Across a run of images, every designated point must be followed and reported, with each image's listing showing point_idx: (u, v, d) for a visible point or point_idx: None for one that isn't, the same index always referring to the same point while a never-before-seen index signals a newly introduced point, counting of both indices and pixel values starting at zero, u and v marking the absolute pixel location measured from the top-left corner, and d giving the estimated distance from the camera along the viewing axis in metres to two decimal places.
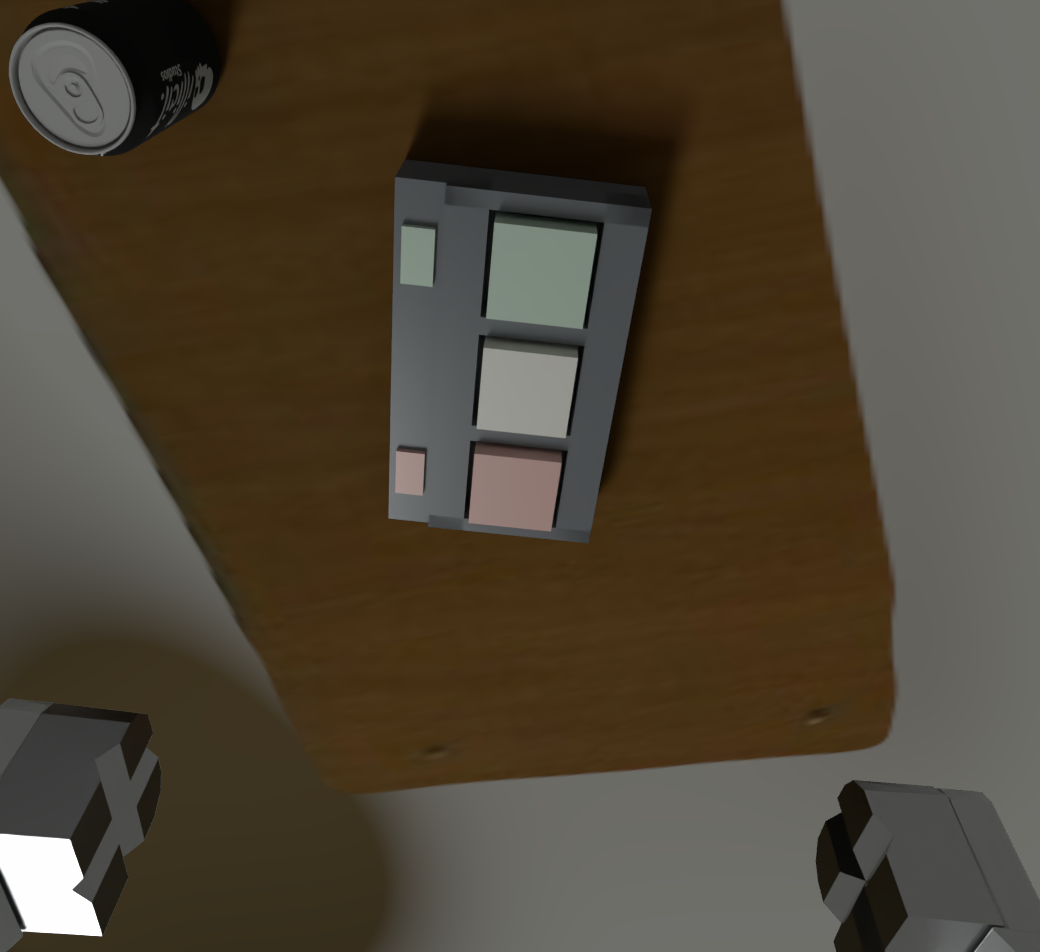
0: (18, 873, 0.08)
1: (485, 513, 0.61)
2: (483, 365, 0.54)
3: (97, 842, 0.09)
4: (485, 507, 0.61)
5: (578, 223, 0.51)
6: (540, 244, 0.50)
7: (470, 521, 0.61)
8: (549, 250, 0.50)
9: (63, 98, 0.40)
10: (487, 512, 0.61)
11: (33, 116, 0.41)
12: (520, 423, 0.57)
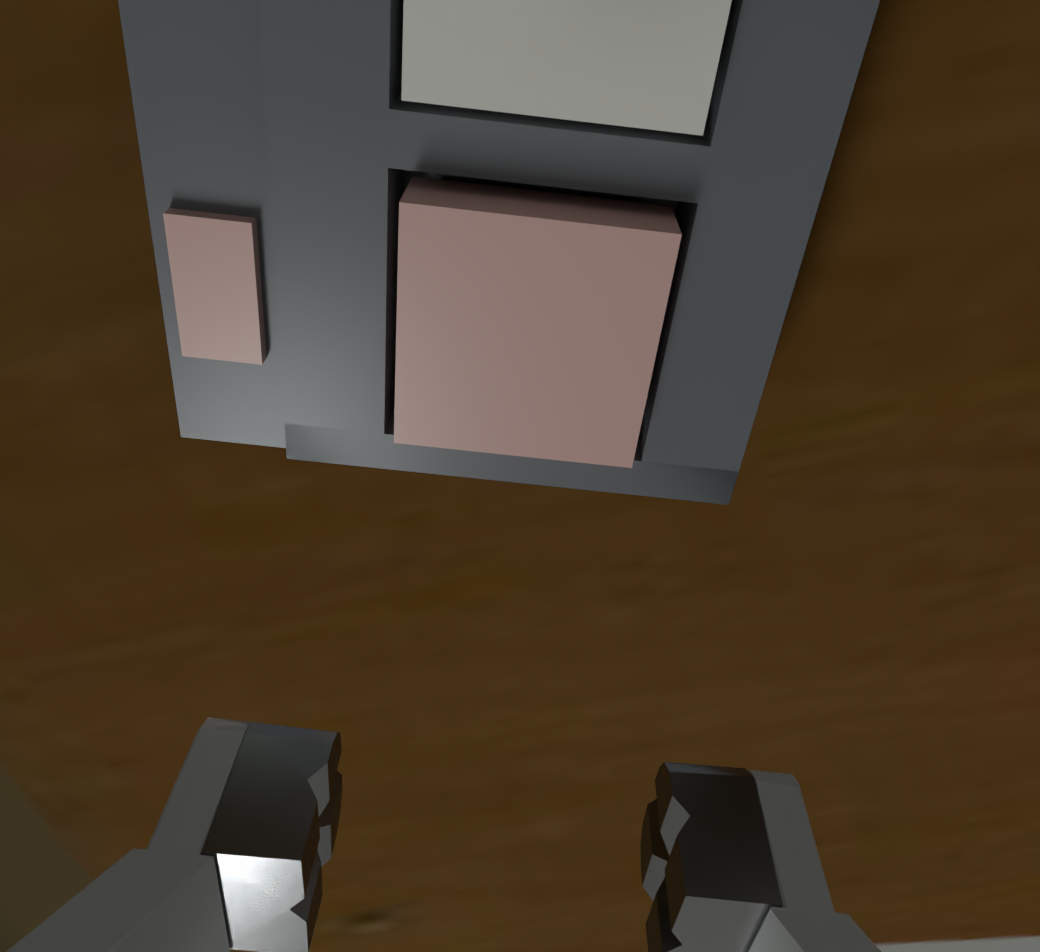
0: (241, 893, 0.08)
1: (441, 412, 0.21)
2: None
3: (312, 862, 0.09)
4: (441, 394, 0.20)
5: None
6: None
7: (399, 438, 0.21)
8: None
9: None
10: (447, 409, 0.21)
11: None
12: (551, 74, 0.16)
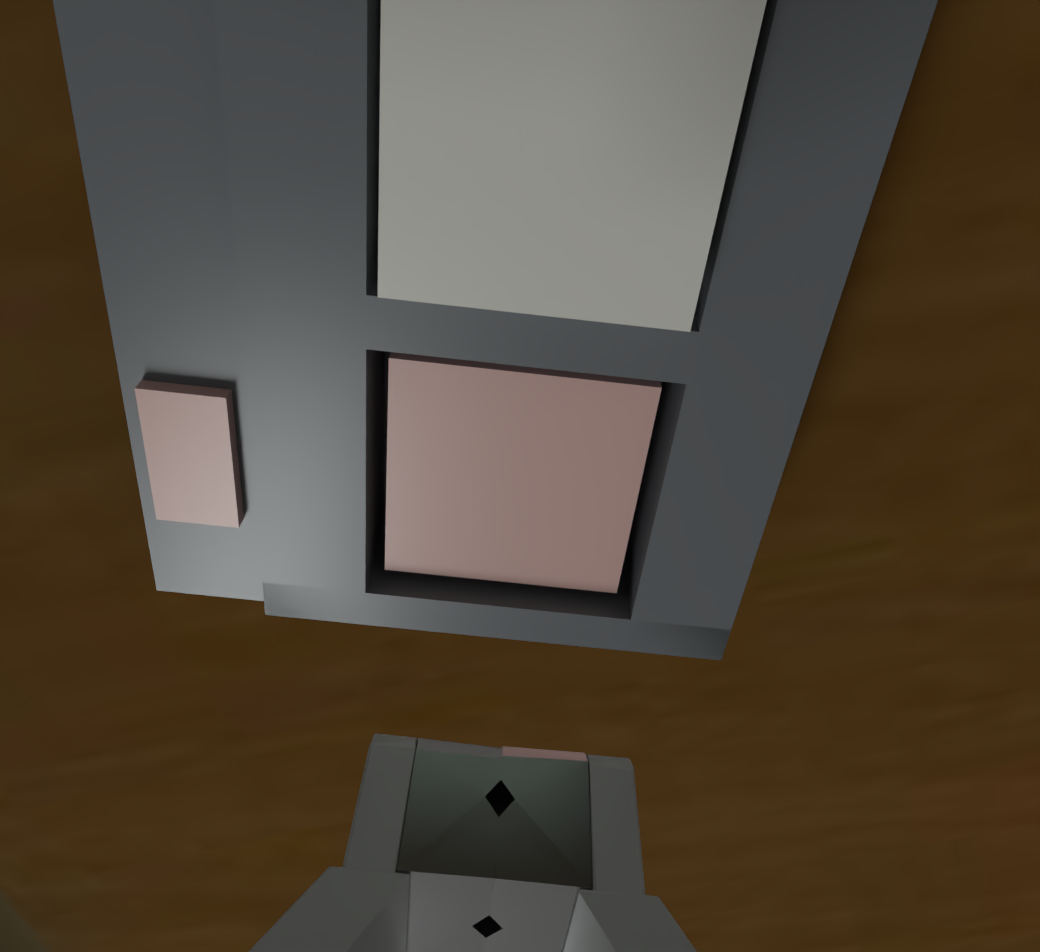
0: (427, 910, 0.08)
1: (431, 543, 0.21)
2: (386, 14, 0.14)
3: None
4: (430, 526, 0.21)
5: None
6: None
7: (390, 565, 0.22)
8: None
9: None
10: (437, 540, 0.21)
11: None
12: (532, 275, 0.16)
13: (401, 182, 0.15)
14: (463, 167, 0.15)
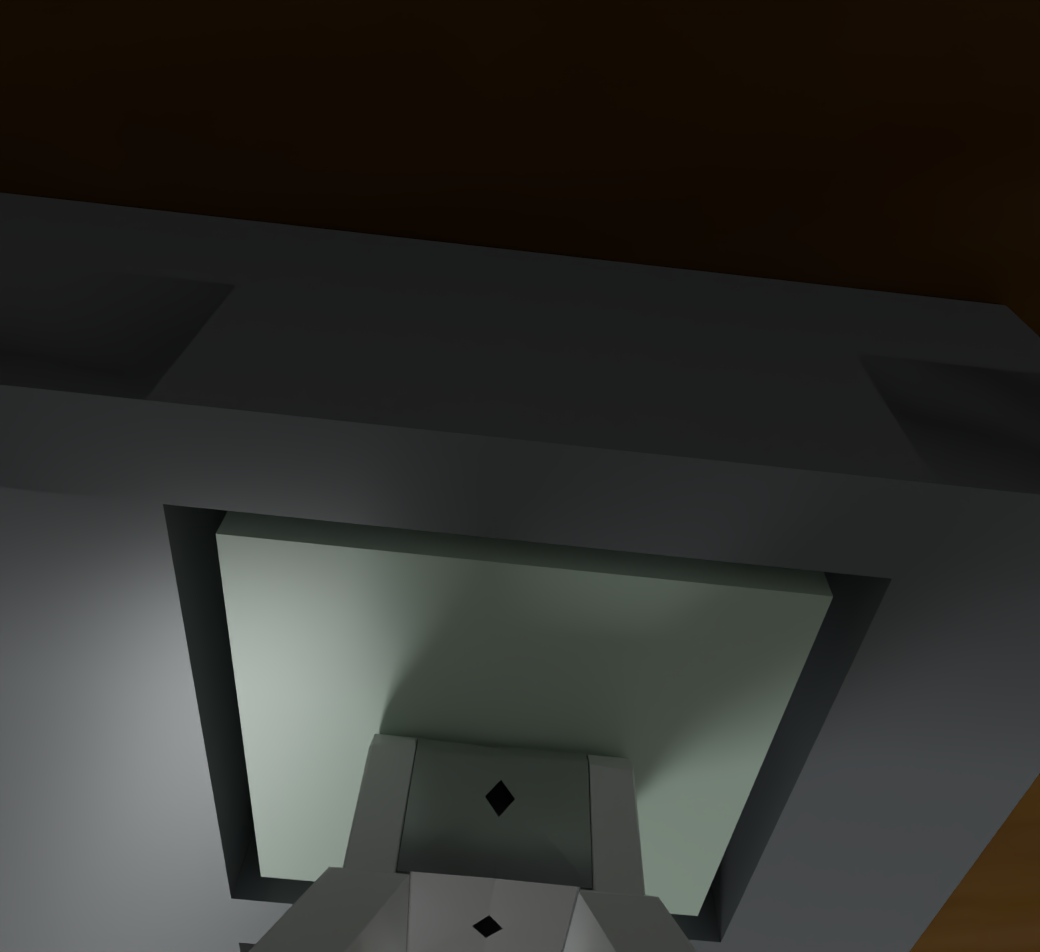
0: (427, 910, 0.08)
1: None
2: None
3: None
4: None
5: None
6: (499, 635, 0.09)
7: None
8: (547, 661, 0.09)
9: None
10: None
11: None
12: None
13: None
14: None
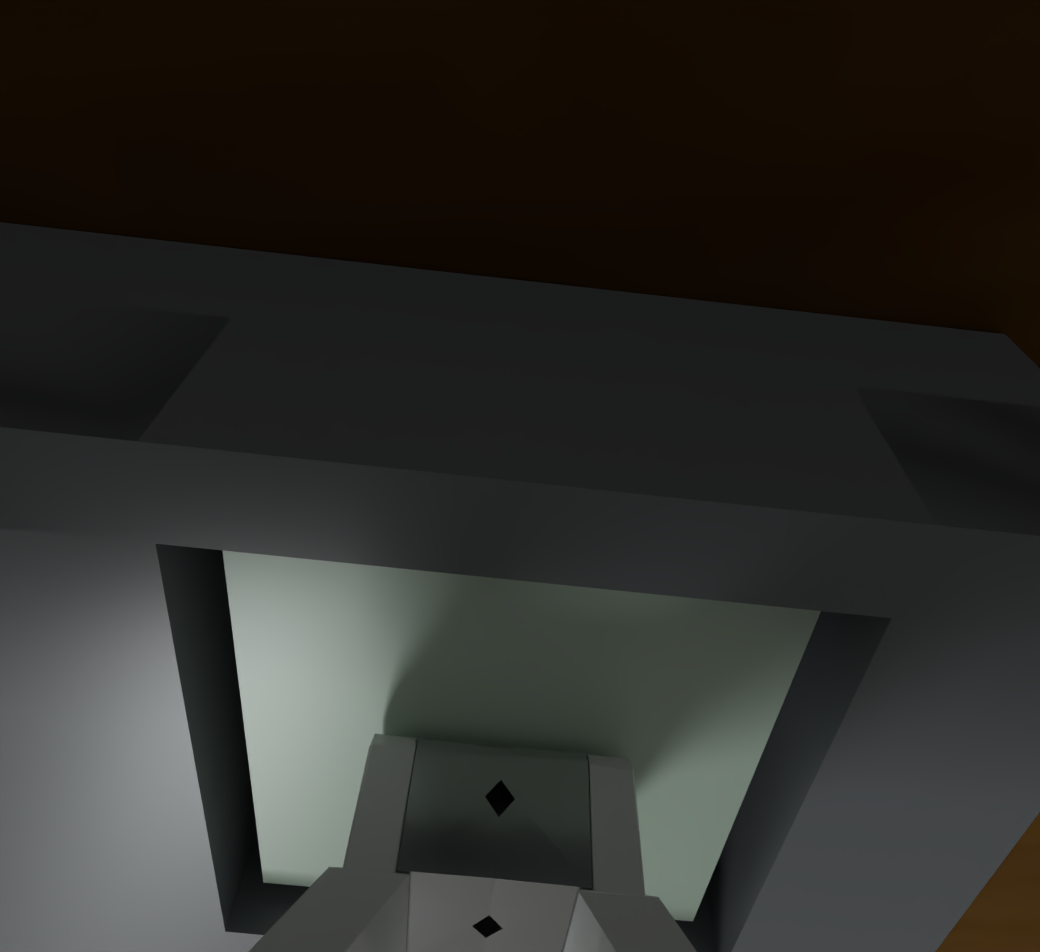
0: (427, 910, 0.08)
1: None
2: None
3: None
4: None
5: None
6: (497, 645, 0.09)
7: None
8: (544, 671, 0.09)
9: None
10: None
11: None
12: None
13: None
14: None
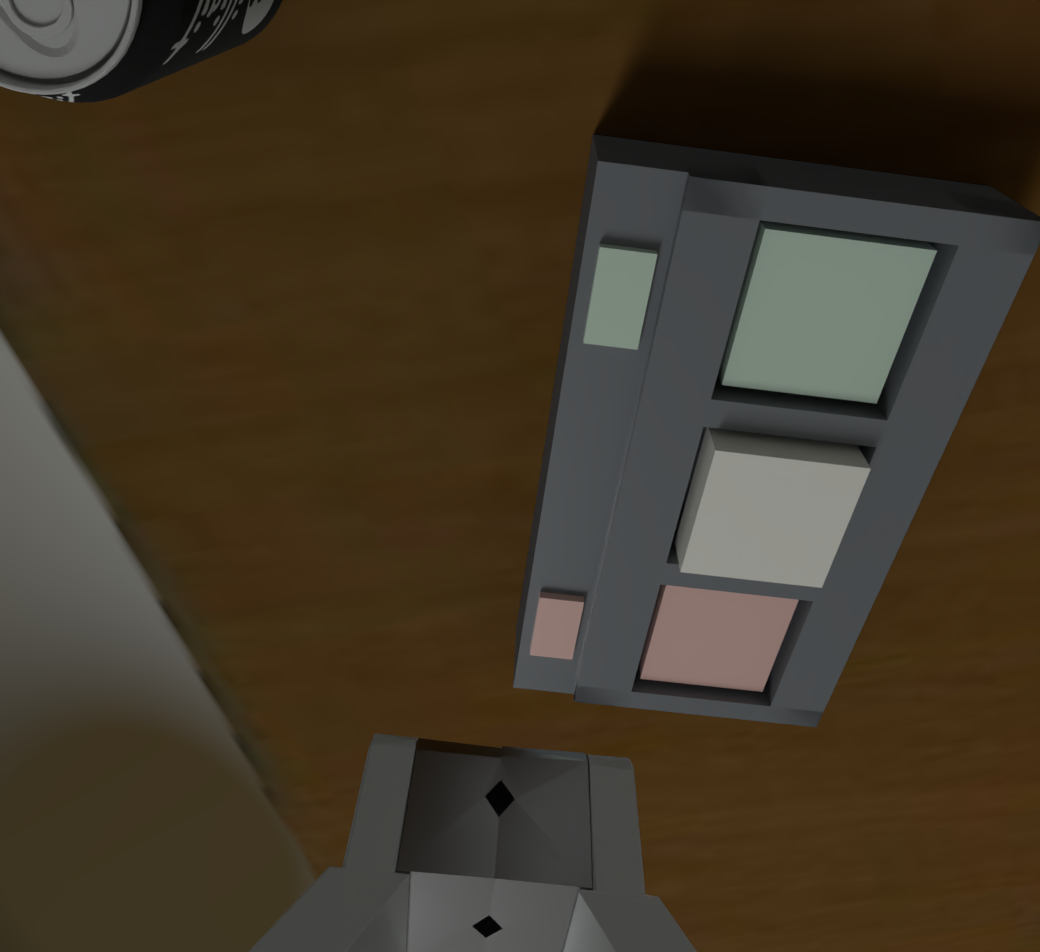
0: (427, 910, 0.08)
1: (668, 666, 0.41)
2: (710, 477, 0.33)
3: None
4: (669, 658, 0.40)
5: None
6: (836, 266, 0.30)
7: (643, 676, 0.41)
8: (849, 277, 0.30)
9: None
10: (671, 665, 0.41)
11: None
12: (753, 565, 0.35)
13: (702, 531, 0.34)
14: (730, 527, 0.34)
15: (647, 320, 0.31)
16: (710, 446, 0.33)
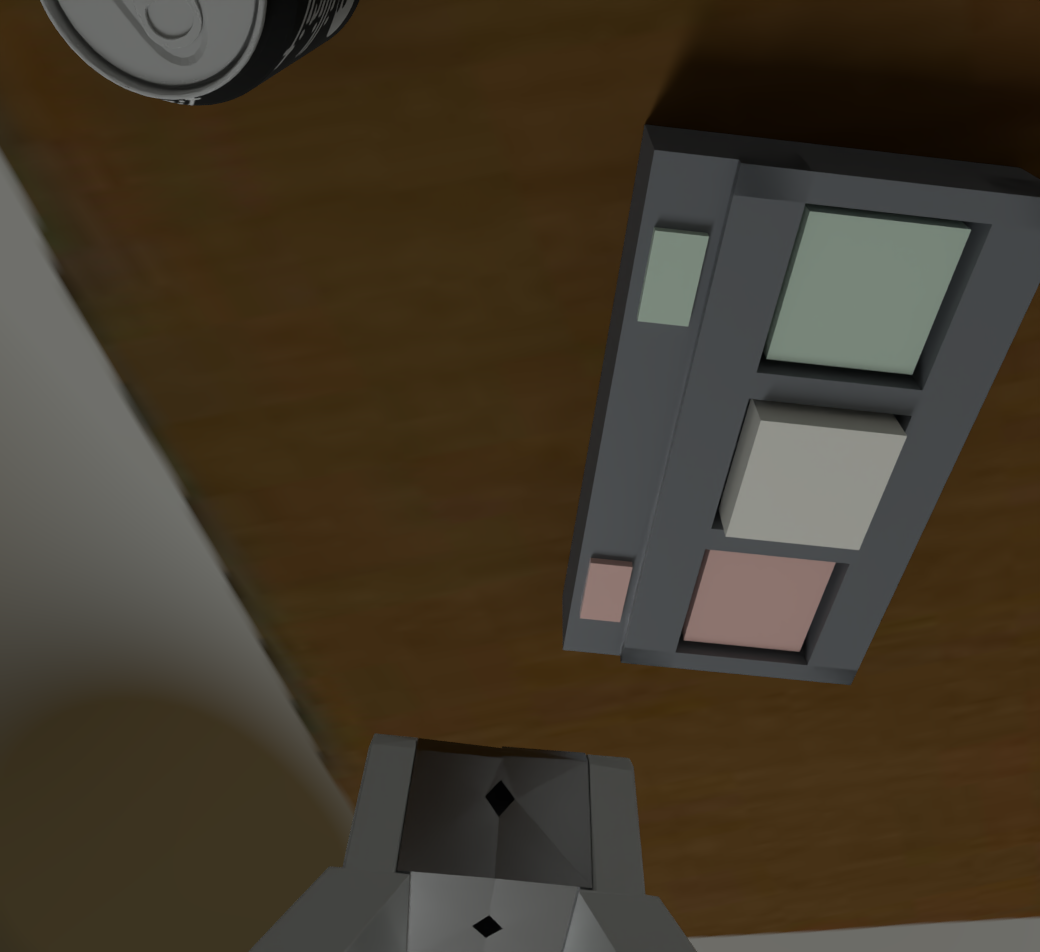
0: (427, 910, 0.08)
1: (710, 628, 0.43)
2: (755, 446, 0.35)
3: None
4: (711, 620, 0.43)
5: None
6: (876, 246, 0.32)
7: (687, 638, 0.43)
8: (888, 255, 0.32)
9: None
10: (713, 626, 0.43)
11: (68, 25, 0.22)
12: (794, 529, 0.37)
13: (746, 497, 0.36)
14: (773, 493, 0.36)
15: (697, 298, 0.33)
16: (755, 417, 0.35)
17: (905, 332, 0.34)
